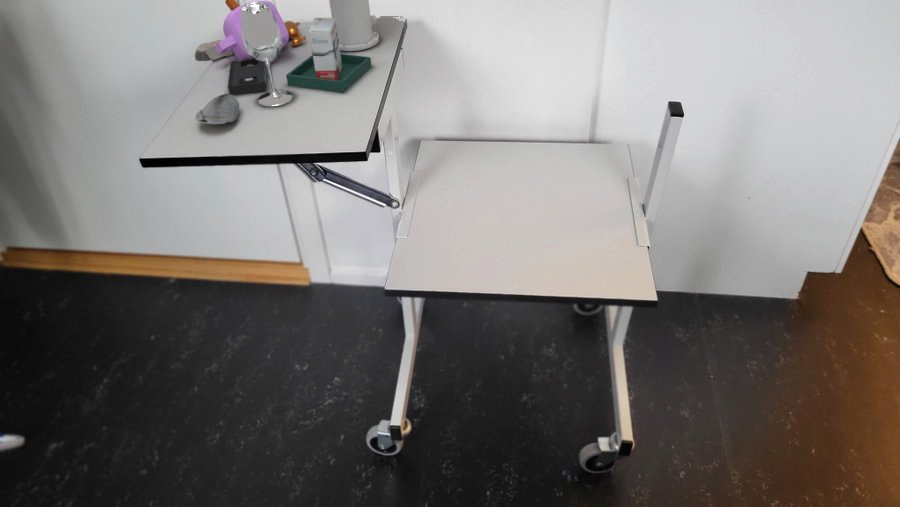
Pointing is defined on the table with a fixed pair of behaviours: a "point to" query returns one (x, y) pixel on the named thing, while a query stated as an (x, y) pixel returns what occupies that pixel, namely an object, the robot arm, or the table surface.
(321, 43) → the ink box
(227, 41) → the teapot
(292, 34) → the figurine
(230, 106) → the seashell
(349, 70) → the tray
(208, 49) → the stone
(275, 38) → the wineglass
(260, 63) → the vhs tape
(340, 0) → the robot arm
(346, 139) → the table surface
